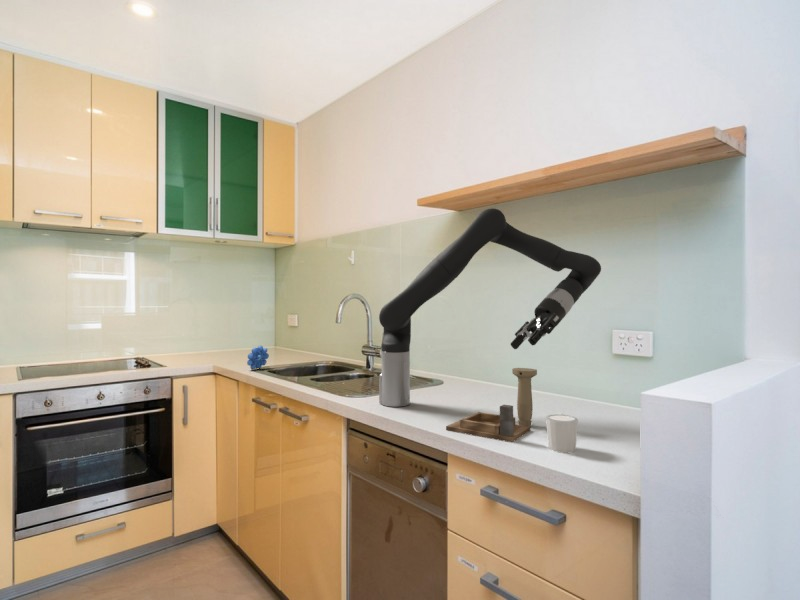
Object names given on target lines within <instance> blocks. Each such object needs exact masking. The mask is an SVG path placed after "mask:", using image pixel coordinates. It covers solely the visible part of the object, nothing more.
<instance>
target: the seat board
mask: <svg viewBox="0 0 800 600" xmlns="http://www.w3.org/2000/svg"><path fill="white" fill-rule="evenodd" d="M445 430H446V431H449V432H456V433H459V432H461V433H460V434H465V433H466V435H470V434H472V435H471V436H476V435H477V436H476V437H481V436H482V437H481V438H486V437H487V439H492V438H494V439H493V440H497V439H499V440H498V441H503V440H505V442H508V441H511V442H510V443H513V442H515V441H517V440H518V439H519V437H520V438H521V437H522V435H523V436H524V435H526V434H528V433H529V432H531V426H523V425H519V424H516V417H515V416H514V405H510V404H502V405H499V414H494V413H488V412H481V411H478V412H475V413H473V414H471V415H469V416H467V417H463V418H462V419H459V420H457V421H455V422H453V423H451V424H447V425H446V426H445ZM517 438H518V439H517ZM514 440H515V441H514Z"/></svg>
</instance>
